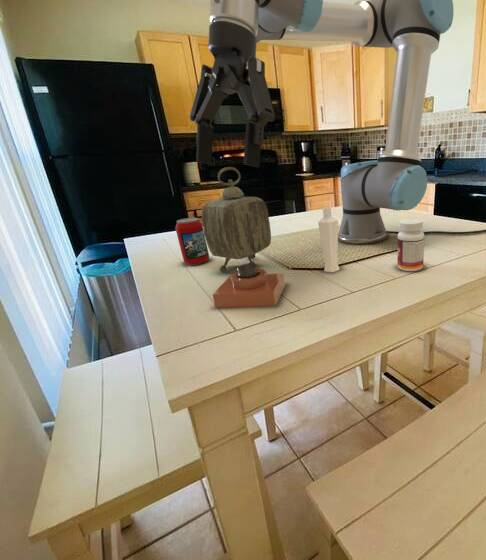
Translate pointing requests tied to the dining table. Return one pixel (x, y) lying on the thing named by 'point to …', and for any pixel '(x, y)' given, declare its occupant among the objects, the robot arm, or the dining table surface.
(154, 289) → the dining table surface
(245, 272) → the dark grey short cylinder
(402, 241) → the pill bottle
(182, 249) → the beverage can
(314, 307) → the dining table surface
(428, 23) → the robot arm
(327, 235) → the perfume bottle
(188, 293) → the dining table surface
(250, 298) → the brown stepped base
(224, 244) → the tabletop clock
